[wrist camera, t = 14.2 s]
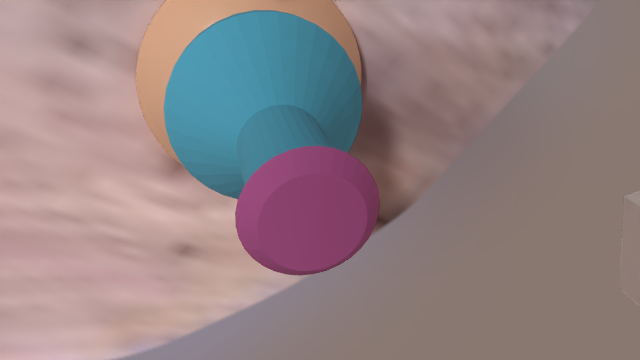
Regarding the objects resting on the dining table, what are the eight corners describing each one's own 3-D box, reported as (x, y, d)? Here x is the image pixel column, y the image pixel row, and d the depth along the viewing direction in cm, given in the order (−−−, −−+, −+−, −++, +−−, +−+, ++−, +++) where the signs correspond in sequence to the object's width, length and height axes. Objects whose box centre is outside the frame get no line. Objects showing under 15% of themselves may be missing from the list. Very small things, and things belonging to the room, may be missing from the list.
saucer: (182, 205, 34) (182, 211, 33) (99, 0, 28) (97, 2, 27) (374, 145, 35) (378, 150, 34) (332, -64, 29) (336, -63, 28)
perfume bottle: (136, 122, 30) (105, 295, 17) (214, -41, 27) (249, 14, 14) (287, 186, 34) (358, 370, 21) (368, 48, 31) (509, 157, 18)
